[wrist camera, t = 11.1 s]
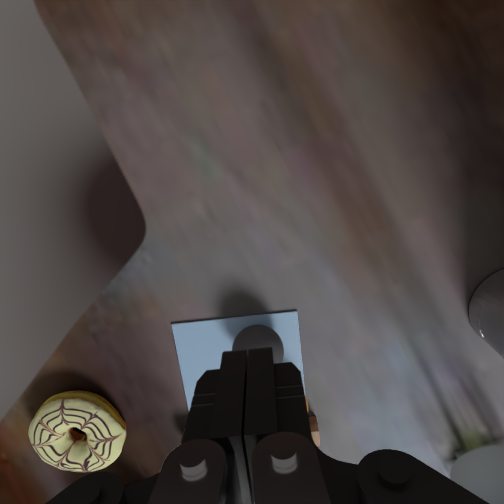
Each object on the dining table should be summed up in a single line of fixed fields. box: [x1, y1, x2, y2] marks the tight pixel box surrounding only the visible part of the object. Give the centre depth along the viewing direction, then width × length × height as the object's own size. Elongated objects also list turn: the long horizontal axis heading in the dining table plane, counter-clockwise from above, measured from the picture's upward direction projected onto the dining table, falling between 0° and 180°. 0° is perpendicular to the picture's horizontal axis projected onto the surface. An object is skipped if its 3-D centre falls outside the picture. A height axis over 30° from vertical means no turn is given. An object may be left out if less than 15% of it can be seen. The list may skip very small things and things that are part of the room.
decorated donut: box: [28, 390, 126, 472], centre depth 46 cm, size 10×11×4 cm
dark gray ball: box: [232, 325, 284, 363], centre depth 41 cm, size 6×6×6 cm
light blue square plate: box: [172, 311, 305, 410], centre depth 45 cm, size 14×14×1 cm
